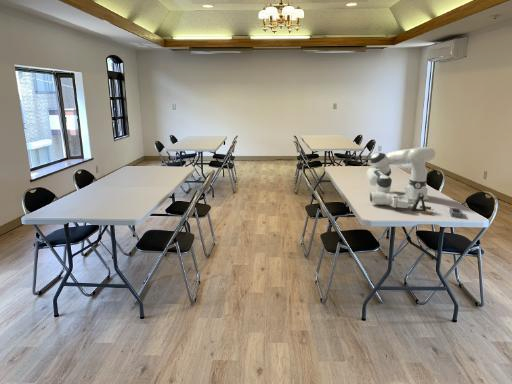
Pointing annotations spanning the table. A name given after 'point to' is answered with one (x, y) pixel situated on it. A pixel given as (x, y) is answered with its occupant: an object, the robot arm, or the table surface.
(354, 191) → the table surface
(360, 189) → the table surface
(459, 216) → the pit tray
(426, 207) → the walled lane
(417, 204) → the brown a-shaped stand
